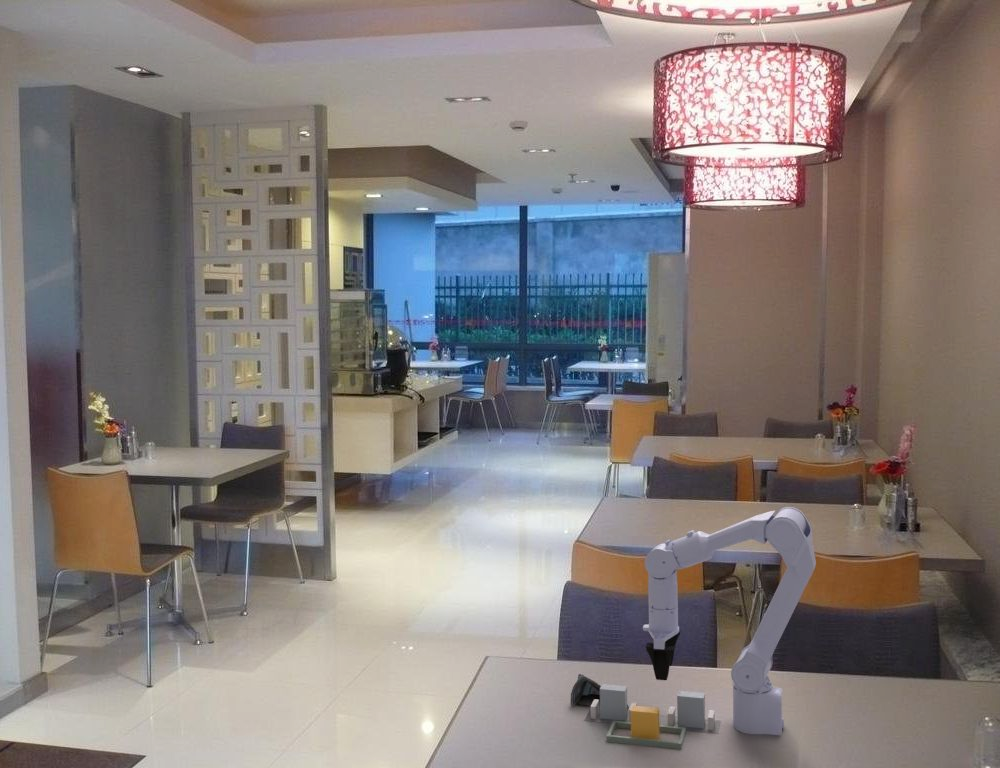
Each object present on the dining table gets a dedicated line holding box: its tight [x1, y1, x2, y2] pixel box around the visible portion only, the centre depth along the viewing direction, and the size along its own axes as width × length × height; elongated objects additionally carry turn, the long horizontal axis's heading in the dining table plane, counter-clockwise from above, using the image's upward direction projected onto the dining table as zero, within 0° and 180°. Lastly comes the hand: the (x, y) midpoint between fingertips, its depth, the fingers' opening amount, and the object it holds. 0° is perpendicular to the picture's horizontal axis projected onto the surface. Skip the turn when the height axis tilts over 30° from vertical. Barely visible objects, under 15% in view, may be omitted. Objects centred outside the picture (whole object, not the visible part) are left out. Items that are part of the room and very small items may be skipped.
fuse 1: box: [599, 683, 629, 721], centre depth 201 cm, size 5×3×6 cm, turn 73°
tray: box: [605, 721, 687, 750], centre depth 192 cm, size 14×7×2 cm, turn 73°
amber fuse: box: [630, 705, 661, 740], centre depth 192 cm, size 5×3×6 cm, turn 73°
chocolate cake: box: [570, 673, 630, 711], centre depth 210 cm, size 10×7×12 cm
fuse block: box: [583, 698, 722, 735], centre depth 199 cm, size 26×6×4 cm, turn 73°
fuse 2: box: [676, 690, 706, 728], centre depth 197 cm, size 5×3×6 cm, turn 73°
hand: (664, 672), depth 202 cm, fingers open, 7 cm apart
